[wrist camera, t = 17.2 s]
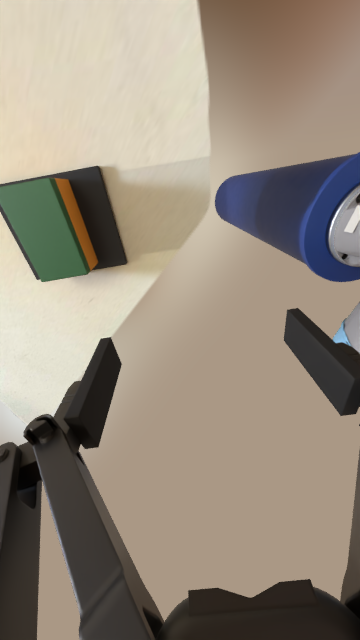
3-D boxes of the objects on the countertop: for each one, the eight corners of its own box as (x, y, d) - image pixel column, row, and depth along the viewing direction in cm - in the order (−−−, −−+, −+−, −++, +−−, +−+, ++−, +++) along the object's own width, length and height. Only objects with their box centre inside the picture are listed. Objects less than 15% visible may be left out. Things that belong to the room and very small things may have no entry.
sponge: (20, 188, 31) (-9, 188, 25) (68, 179, 30) (48, 177, 25) (58, 269, 37) (41, 282, 32) (98, 262, 37) (87, 274, 32)
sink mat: (98, 166, 30) (97, 165, 30) (127, 262, 38) (126, 264, 37) (-10, 187, 31) (-14, 186, 30) (39, 278, 38) (36, 280, 38)
